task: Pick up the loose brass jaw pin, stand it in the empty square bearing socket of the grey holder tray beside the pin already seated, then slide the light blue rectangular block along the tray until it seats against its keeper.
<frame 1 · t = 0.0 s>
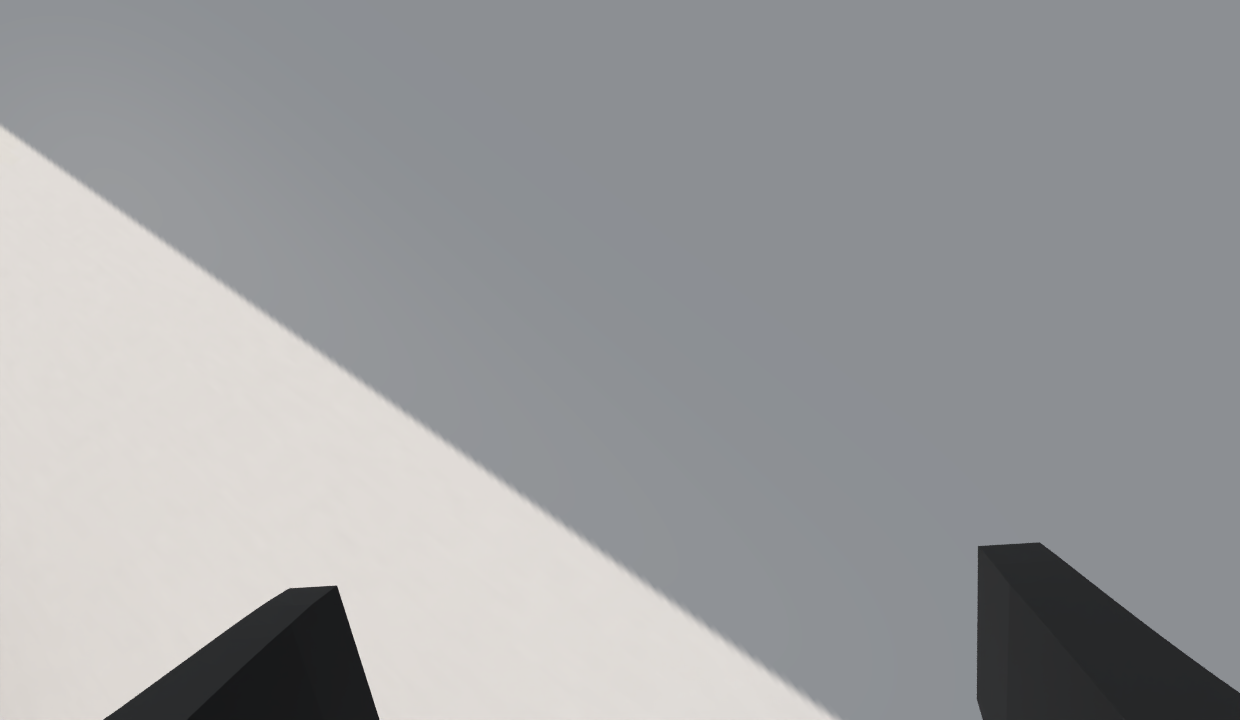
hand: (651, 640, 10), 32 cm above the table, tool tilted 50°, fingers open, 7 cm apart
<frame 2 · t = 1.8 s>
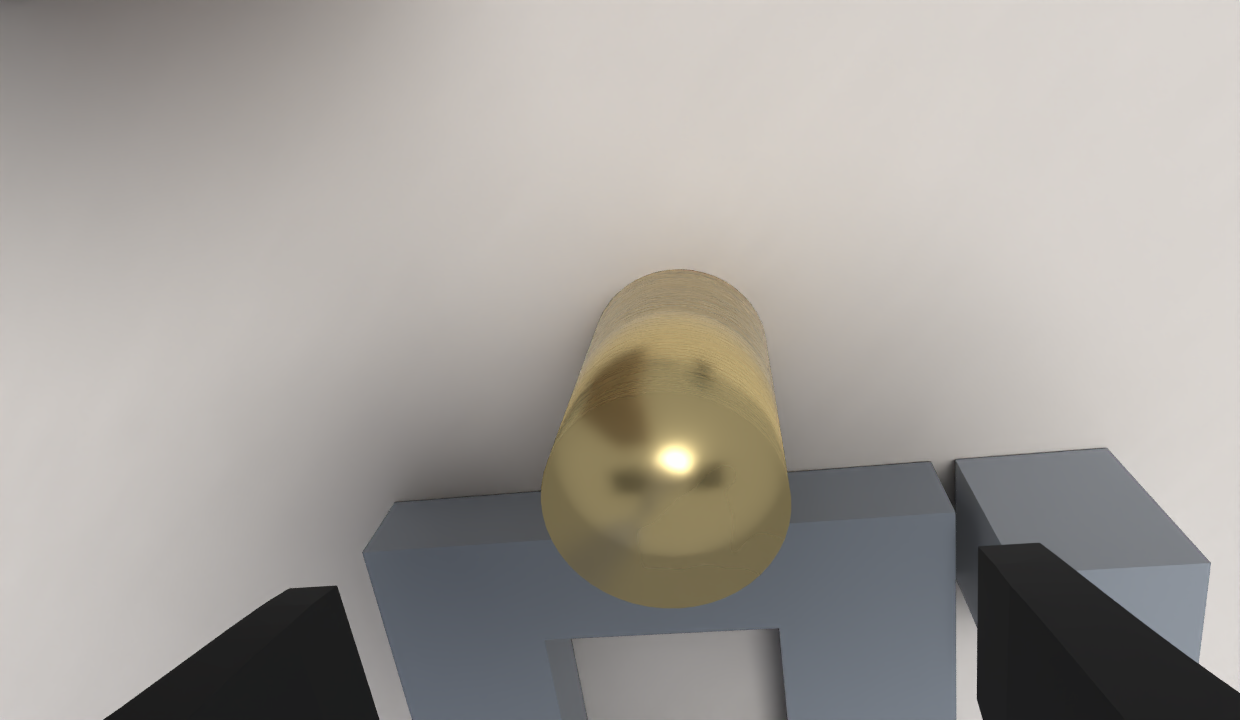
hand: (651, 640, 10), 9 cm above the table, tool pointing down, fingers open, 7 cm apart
jaw pin B: (679, 352, 18), on the table
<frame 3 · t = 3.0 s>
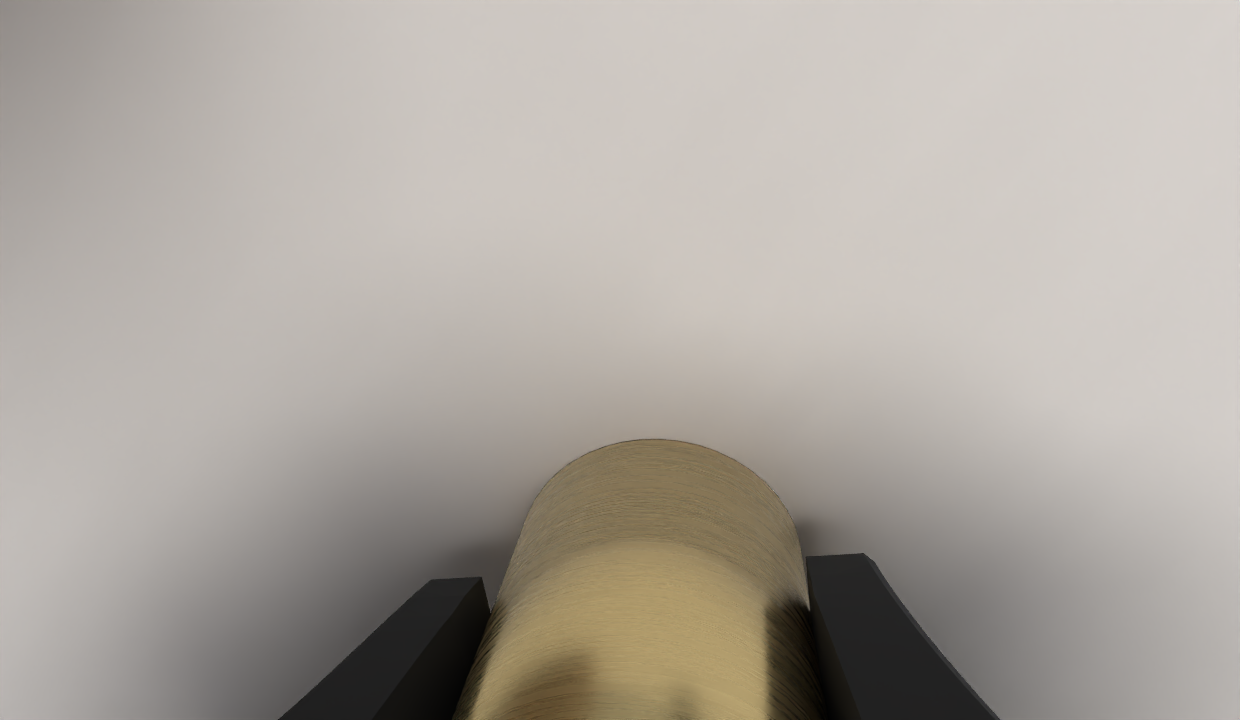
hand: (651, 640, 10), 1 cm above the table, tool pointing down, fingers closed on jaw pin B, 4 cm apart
jaw pin B: (658, 564, 11), on the table, touching gripper
when the fingers open (3 cm above the table, at t = 5.9 s): jaw pin B drops 1 cm, resting in grey holder tray.
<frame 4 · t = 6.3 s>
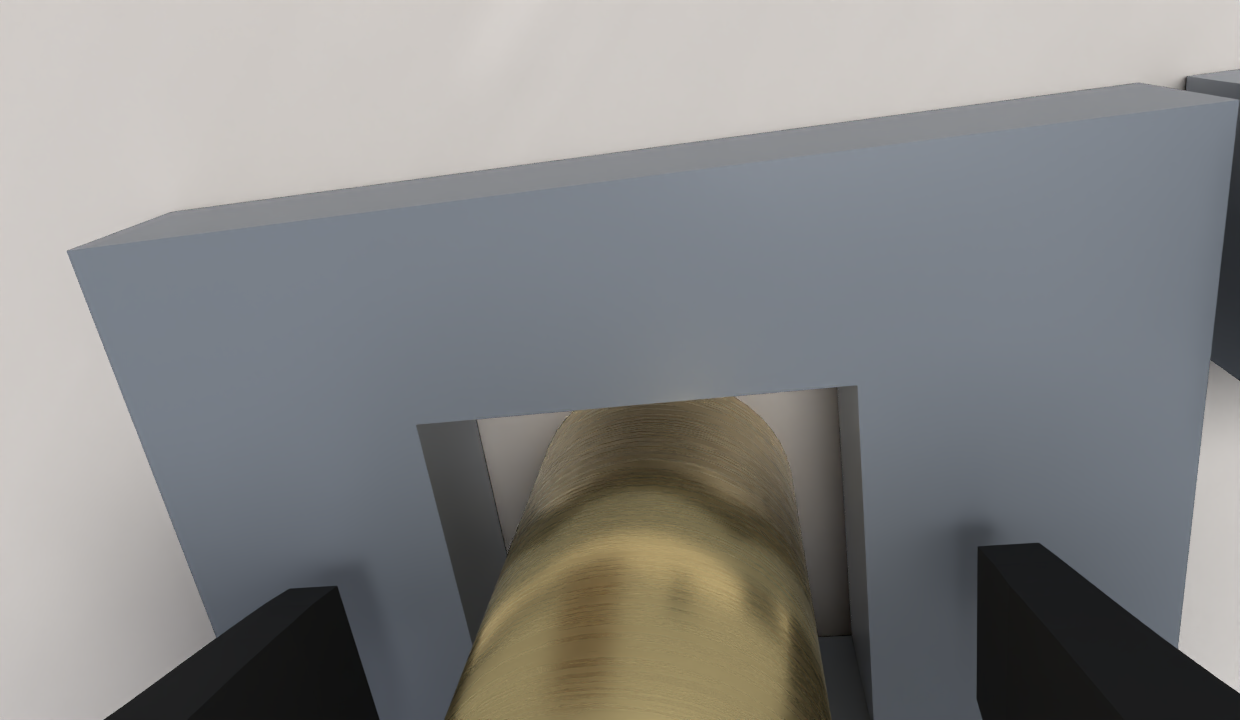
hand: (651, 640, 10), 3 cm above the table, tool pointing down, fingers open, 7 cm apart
jaw pin B: (665, 493, 12), resting in grey holder tray
grey holder tray: (696, 718, 14), on the table
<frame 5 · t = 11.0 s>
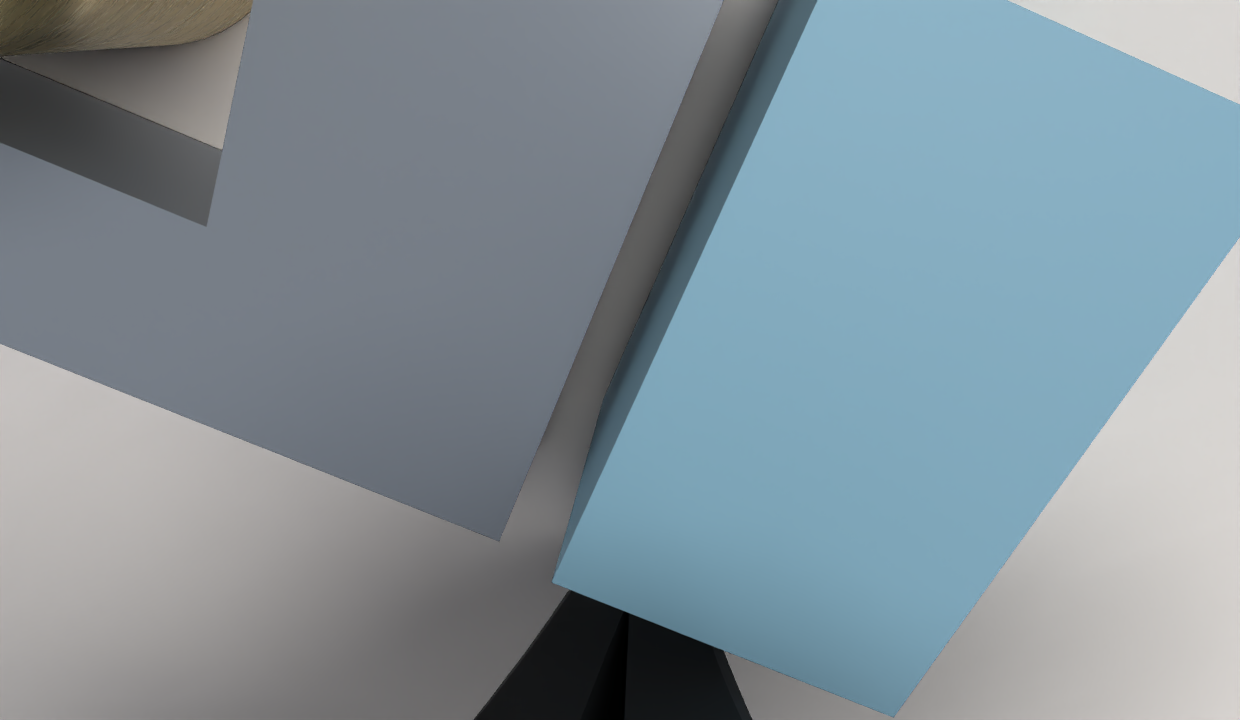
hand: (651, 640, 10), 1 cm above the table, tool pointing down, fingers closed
light blue rectangular block: (841, 311, 8), point 2 cm above the table, slide at 1.5 cm, touching gripper
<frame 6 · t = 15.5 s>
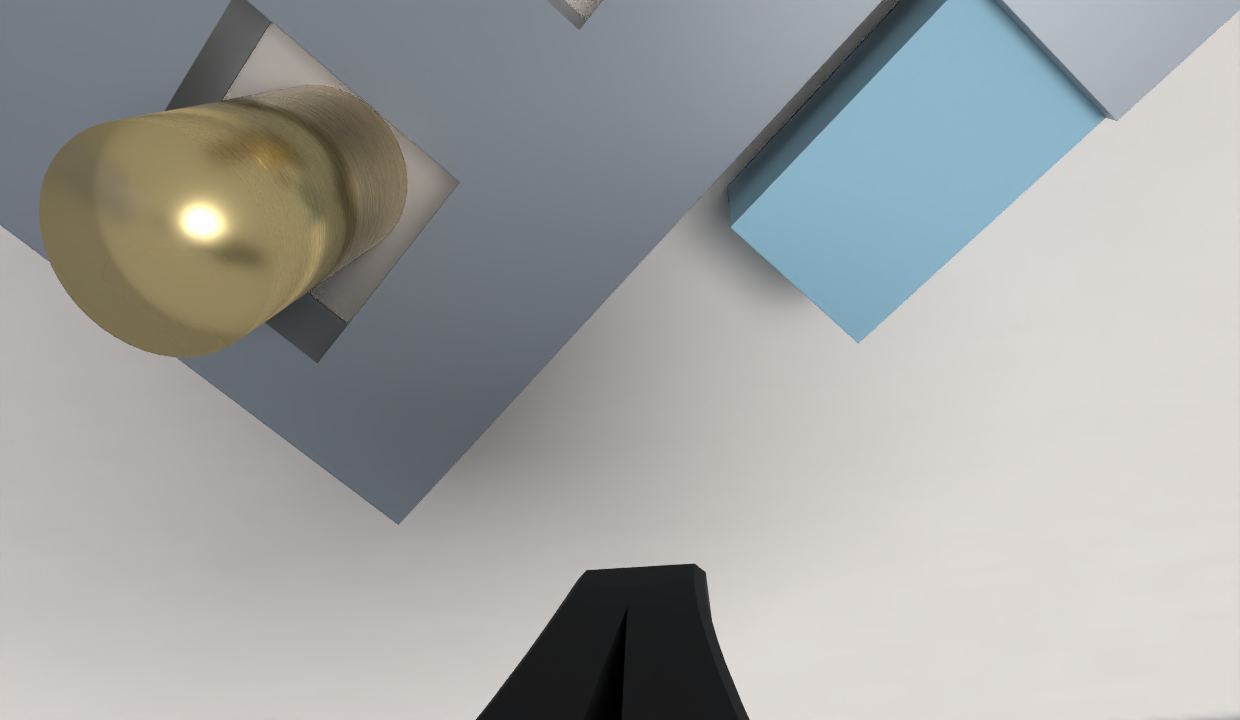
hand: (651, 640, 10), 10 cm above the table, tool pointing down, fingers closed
light blue rectangular block: (888, 157, 15), point 2 cm above the table, slide at 10.5 cm, touching grey holder tray
jaw pin A: (324, 173, 18), resting in grey holder tray
grey holder tray: (447, 0, 17), on the table
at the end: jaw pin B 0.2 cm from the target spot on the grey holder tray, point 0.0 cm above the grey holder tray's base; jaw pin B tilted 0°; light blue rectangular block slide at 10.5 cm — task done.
